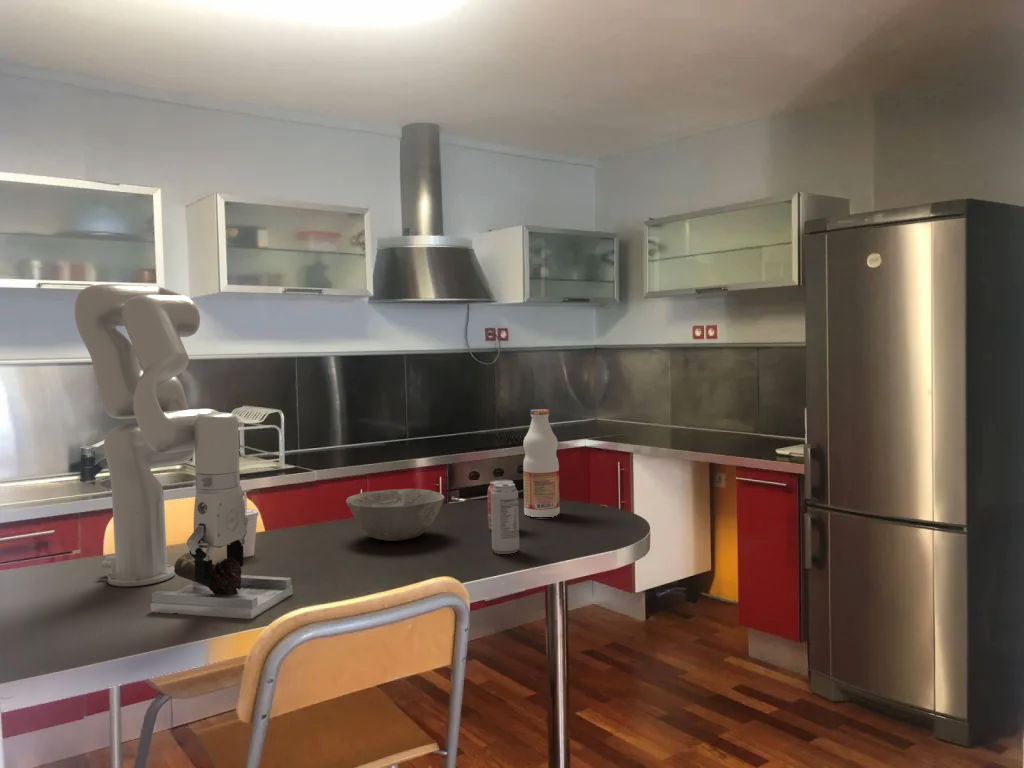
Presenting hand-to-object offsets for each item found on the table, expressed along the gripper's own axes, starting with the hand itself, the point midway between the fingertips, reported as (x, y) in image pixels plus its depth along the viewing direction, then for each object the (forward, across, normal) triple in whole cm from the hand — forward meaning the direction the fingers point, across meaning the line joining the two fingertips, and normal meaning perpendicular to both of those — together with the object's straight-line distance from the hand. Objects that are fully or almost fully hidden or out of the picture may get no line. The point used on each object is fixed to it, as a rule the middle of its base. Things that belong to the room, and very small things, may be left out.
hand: (220, 573), depth 151 cm
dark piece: (+3, +1, +2) cm, 4 cm away
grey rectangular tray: (+5, 0, -1) cm, 5 cm away
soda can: (+5, +63, -37) cm, 73 cm away
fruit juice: (+5, +81, -43) cm, 91 cm away
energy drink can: (+5, +43, -43) cm, 61 cm away
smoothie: (+6, +31, +14) cm, 34 cm away
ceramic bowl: (+6, +51, -14) cm, 53 cm away
